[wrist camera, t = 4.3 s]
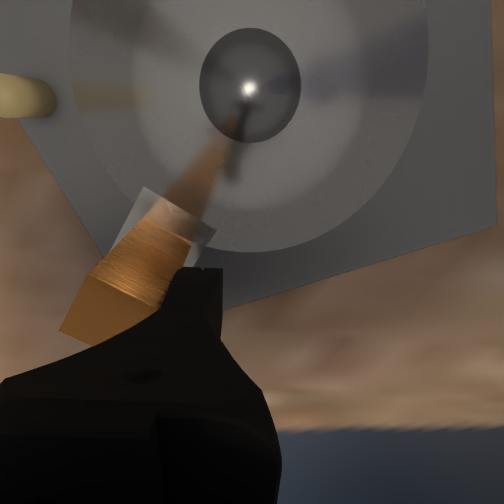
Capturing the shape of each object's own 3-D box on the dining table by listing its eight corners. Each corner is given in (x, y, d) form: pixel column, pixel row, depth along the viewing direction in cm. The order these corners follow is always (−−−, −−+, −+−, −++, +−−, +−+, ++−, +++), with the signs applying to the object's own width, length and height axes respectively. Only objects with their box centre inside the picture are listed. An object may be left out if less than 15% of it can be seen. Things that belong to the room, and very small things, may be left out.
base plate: (443, -370, 8) (553, -639, 5) (477, 216, 14) (533, 242, 11) (-77, -76, 10) (-204, -148, 7) (157, 317, 16) (138, 360, 13)
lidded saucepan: (185, -262, 7) (63, -980, 3) (484, 42, 10) (709, -24, 5) (14, 208, 12) (-143, 274, 7) (247, 331, 15) (247, 440, 10)
